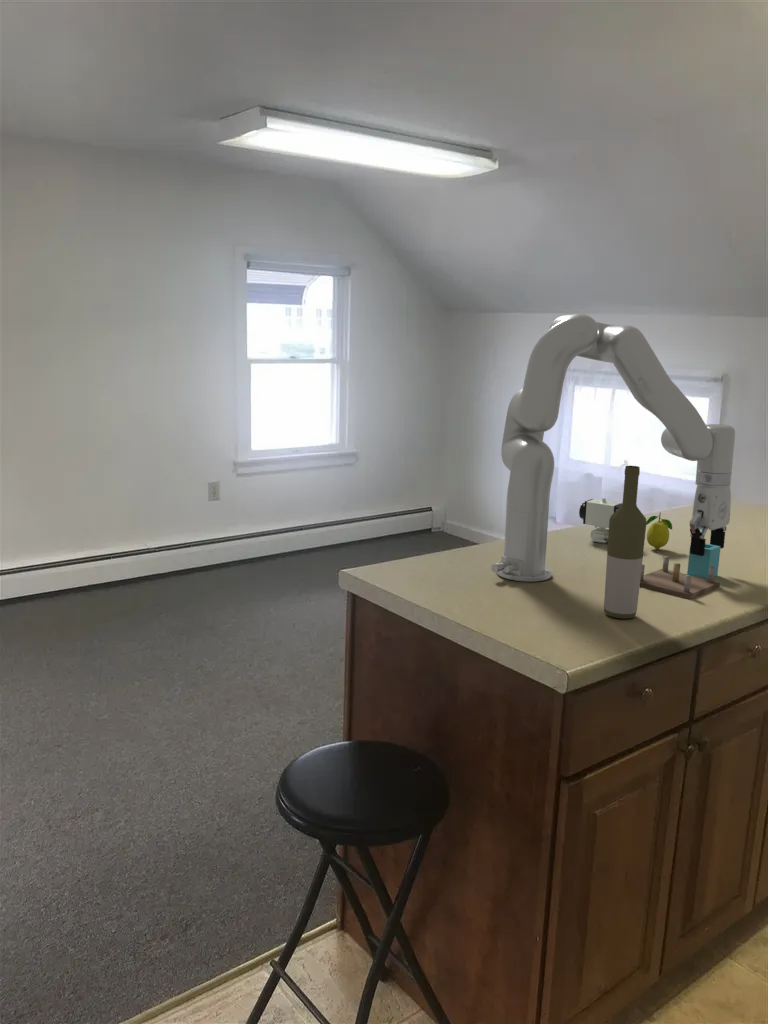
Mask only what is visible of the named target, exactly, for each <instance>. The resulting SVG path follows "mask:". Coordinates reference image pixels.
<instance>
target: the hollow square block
mask: <svg viewBox="0 0 768 1024" xmlns="http://www.w3.org/2000/svg"><path fill="white" fill-rule="evenodd" d="M690 547H691V544H690V545H689V548H690ZM720 557H721V546H716V545H711V544H710V543H706V542H705V553H704V556H699V555H694V554H691V553H690V551H689V554H688V562H687V563H688V564H687V572H686V574H687V575H691V576H695V577H700V578H704V579H708V573H709V566H713V567H715V572H714V577H717V576H718V573H719V565H720Z"/></svg>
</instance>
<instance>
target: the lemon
mask: <svg viewBox="0 0 768 1024" xmlns="http://www.w3.org/2000/svg"><path fill="white" fill-rule="evenodd" d="M661 514H662V512H659V515H658V516H656V515H652V516H650V517H648V518H647V519H646V522H647V523H646V526H647V525H649V524H650V523H651V522H653V521H654V520H656V519H658V520H657V521H655V522H653V523H652V524H650V526H649V527H648V530H647V533H646V541H647V543H648V545H650V546H651V547H653V548H654V549H655V550H659V549H661V548H664V547H666V546H667V544H668V542H669V539H670V530H673V524H672V521H670V520H669V519H665V518H661ZM669 529H670V530H669Z"/></svg>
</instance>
